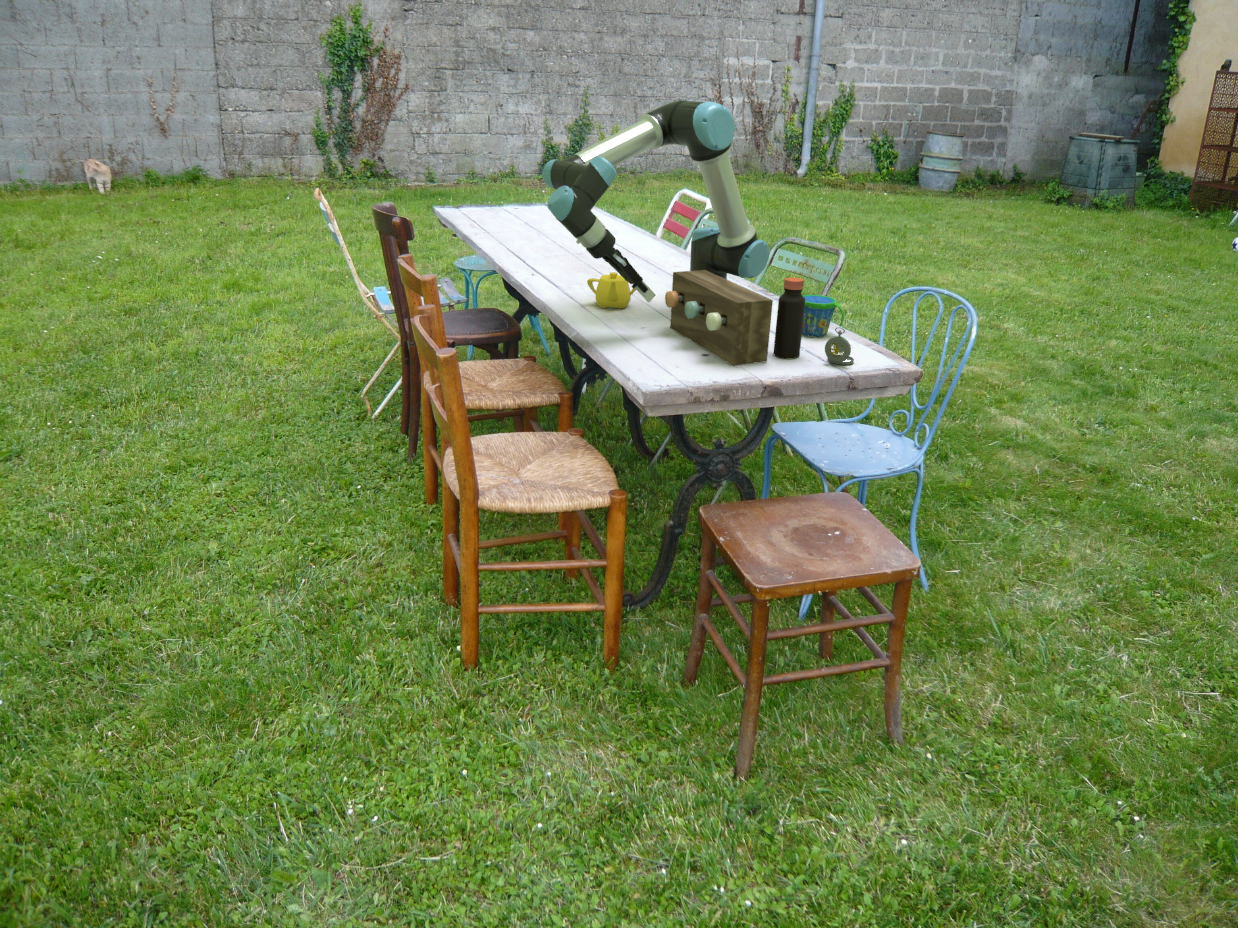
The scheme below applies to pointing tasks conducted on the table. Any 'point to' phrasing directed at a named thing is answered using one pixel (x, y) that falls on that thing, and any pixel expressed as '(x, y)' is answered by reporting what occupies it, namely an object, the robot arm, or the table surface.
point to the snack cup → (819, 314)
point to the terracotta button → (673, 299)
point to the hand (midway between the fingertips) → (651, 298)
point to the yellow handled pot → (611, 291)
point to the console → (740, 305)
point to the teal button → (693, 309)
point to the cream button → (715, 321)
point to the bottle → (790, 319)
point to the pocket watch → (838, 349)
